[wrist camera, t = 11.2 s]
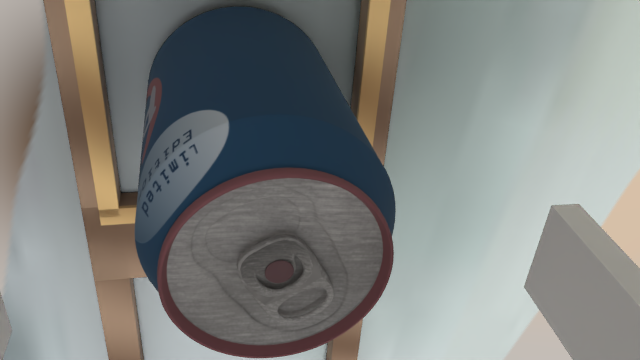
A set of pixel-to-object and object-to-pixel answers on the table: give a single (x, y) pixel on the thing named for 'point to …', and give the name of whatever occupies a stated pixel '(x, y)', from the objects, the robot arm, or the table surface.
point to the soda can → (258, 190)
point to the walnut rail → (120, 208)
